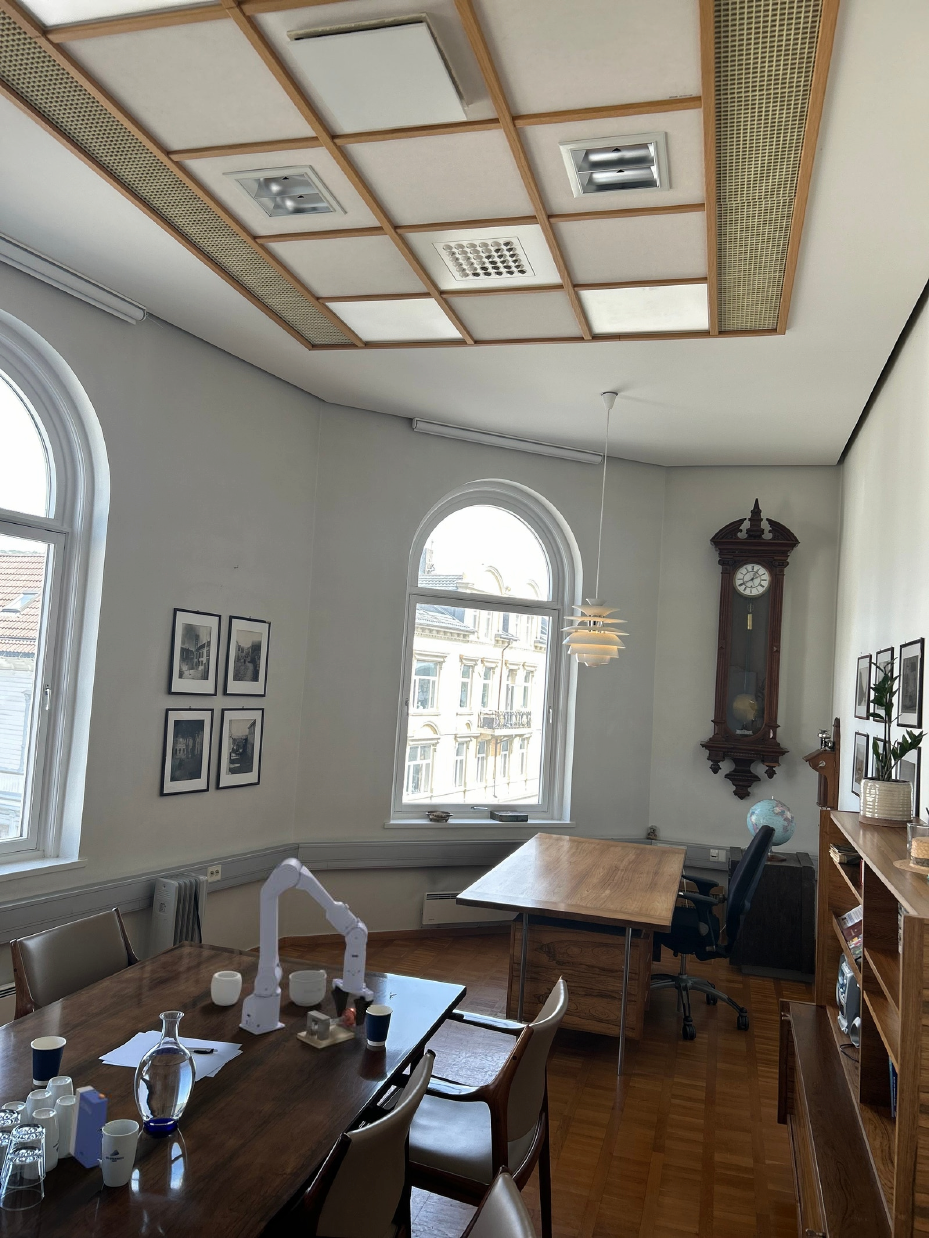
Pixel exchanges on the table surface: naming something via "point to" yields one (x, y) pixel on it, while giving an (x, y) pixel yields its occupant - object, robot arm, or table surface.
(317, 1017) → the eye bracket
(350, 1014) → the hook rod
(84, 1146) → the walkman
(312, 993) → the teacup
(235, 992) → the mug
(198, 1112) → the table surface
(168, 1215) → the table surface
